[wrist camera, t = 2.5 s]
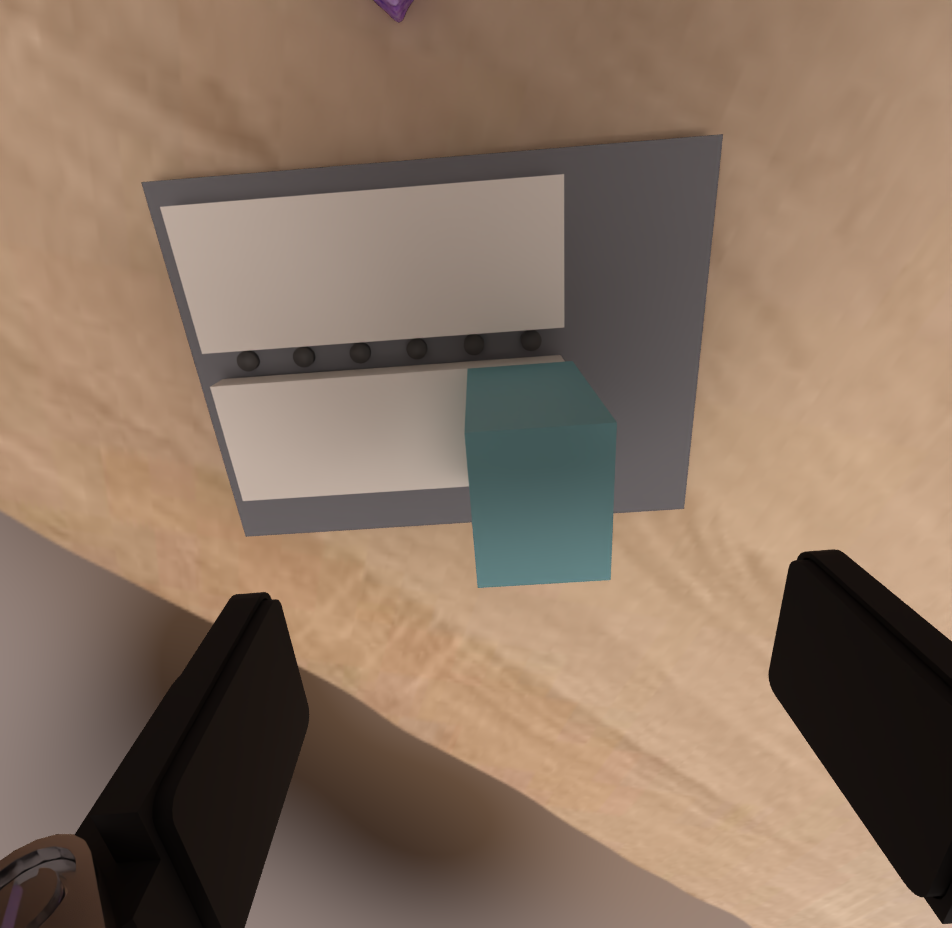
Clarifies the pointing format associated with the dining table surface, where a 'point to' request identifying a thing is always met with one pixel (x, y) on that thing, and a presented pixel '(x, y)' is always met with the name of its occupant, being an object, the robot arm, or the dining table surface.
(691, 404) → the mat
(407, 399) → the stub
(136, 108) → the dining table surface
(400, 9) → the sponges
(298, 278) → the ticket
